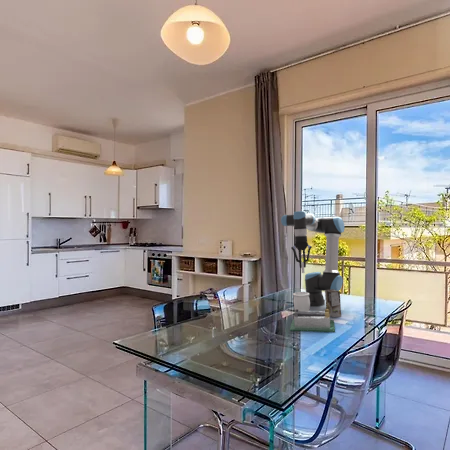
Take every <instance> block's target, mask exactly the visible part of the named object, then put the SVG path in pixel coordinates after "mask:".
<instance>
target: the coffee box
mask: <svg viewBox="0 0 450 450" xmlns="http://www.w3.org/2000/svg"><path fill="white" fill-rule="evenodd" d="M324 300H325V309H329V314H330V318H338V317H340V318H341V317H342V309H341V308H342V307H341V292H340V290H339V291H337V290H334V289H330V290H325V291H324Z"/></svg>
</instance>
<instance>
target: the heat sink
mask: <svg viewBox="0 0 450 450" xmlns="http://www.w3.org/2000/svg"><path fill="white" fill-rule="evenodd" d="M296 311H298V309H296ZM305 312H325V316H315V315H298V312H294V316H293V318H292V321H291V324H290V328H289V331H290V332H310V333H311V332H313V333H317V332H318V333H336V326H335V319H330V318H331V316H330V314H329V309H326V308H325V309H324V311H318V310H316V311H314V310H313V311H312V310H309V311H305Z"/></svg>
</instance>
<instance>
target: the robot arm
mask: <svg viewBox="0 0 450 450" xmlns="http://www.w3.org/2000/svg"><path fill="white" fill-rule="evenodd" d="M280 222H281V223H280V224H281V225H282V226H283V227H293V228H294V230H293V231H294V245H293V246H291V250H292V252H293V255H294V258H295V261H296V263H297V262H298V264H299V268H301V274H305V268H306V267H307V266H306V265H307V263H308V262H309V259H310V253H311V249H312V248H313V246H312V245H309V243H308V231H309V232H310V231H311V232H314V233H321V234H324V236H325V237H326V242H325V244H326V245H325V267H324V268H325V269H324V270H323V271H322V273H321V272H320V271H313V272H308V273H306V274H305V275H304V284H305V292H308V293H309V299H310V307H318V306H319V307H320V306H325V305H326V300H325V296H324V295H323V291H324V292H325V290H330V289H334V290H337V291H340V290H341V289H342V287H343V280H344V279H343V276H342V275H341V273H340V271H339V270H338V268H339V267H338V266H339V243H340V241H339V240H340V237H341V236H342V233H344V231H345V223H344V219H342V217H340V216H328V217H327V216H325V217H316V216H315V215H314V213H306V211H304V210H299V211H293V214H284V215H282V216H281V218H280ZM307 230H308V231H307ZM296 249H297V251H298V254H297V251H296ZM306 249H307V255H306ZM302 259H303V260H302ZM302 261H303V262H302Z"/></svg>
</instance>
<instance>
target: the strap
mask: <svg viewBox="0 0 450 450" xmlns="http://www.w3.org/2000/svg"><path fill="white" fill-rule="evenodd" d="M296 312H298V315H315V316H325V312H305V311H296Z"/></svg>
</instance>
